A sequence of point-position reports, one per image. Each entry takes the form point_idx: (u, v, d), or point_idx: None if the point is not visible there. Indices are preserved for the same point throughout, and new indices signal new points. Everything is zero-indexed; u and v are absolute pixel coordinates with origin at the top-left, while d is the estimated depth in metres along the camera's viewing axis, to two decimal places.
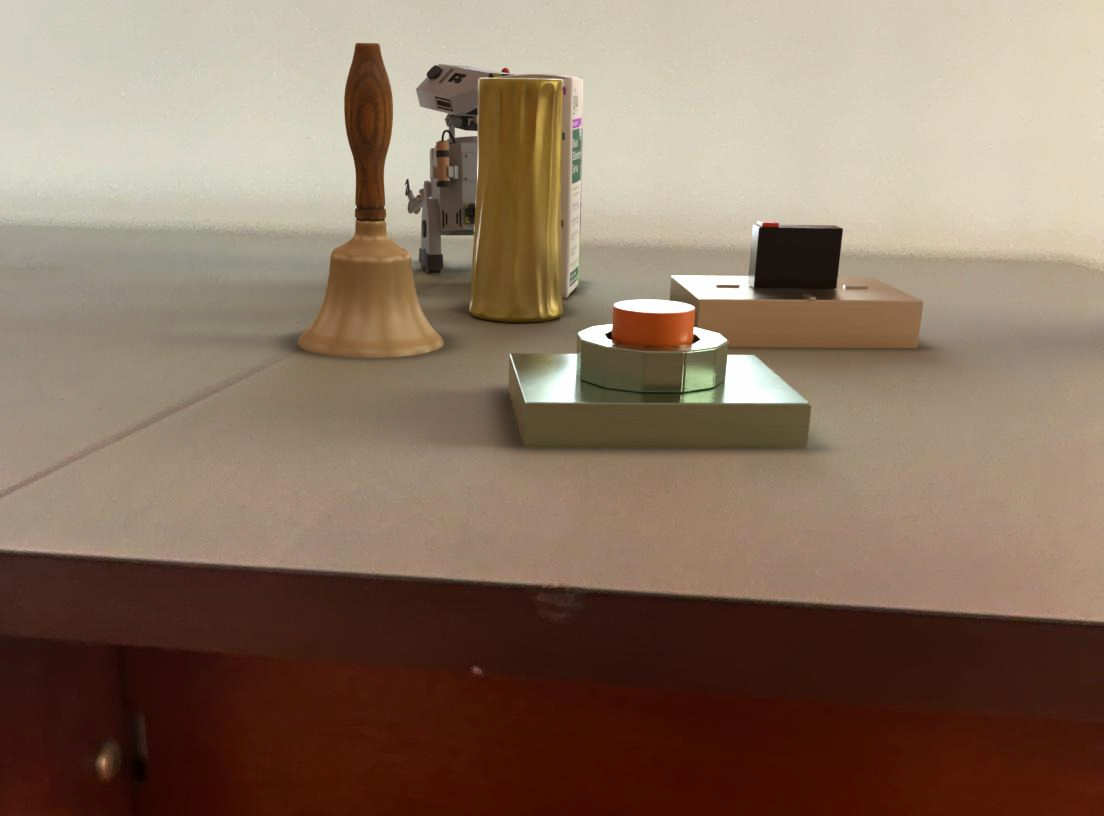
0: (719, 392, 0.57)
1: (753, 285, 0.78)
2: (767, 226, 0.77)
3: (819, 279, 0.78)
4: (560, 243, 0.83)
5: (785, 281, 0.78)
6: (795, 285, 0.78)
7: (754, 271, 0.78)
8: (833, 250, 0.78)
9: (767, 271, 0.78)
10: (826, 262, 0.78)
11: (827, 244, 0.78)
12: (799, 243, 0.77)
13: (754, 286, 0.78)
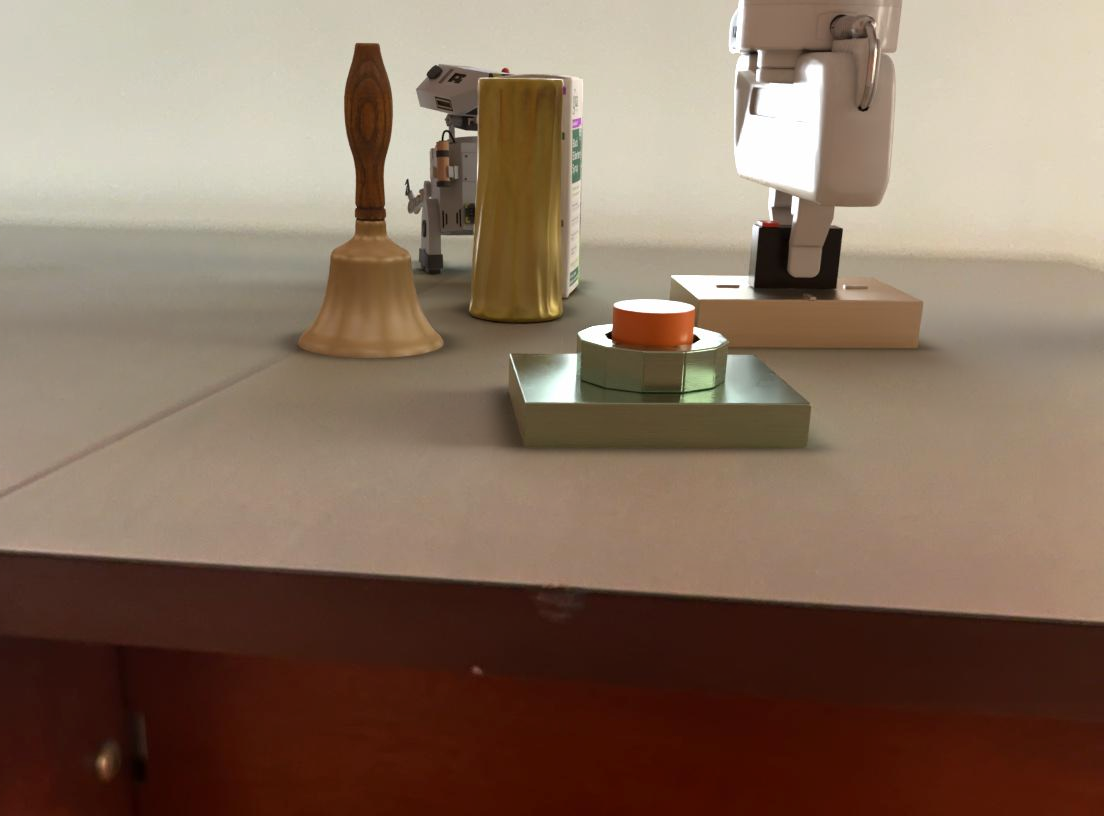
0: (719, 392, 0.57)
1: (753, 285, 0.78)
2: (767, 226, 0.77)
3: (819, 279, 0.78)
4: (560, 243, 0.83)
5: (785, 281, 0.78)
6: (795, 285, 0.78)
7: (754, 271, 0.78)
8: (833, 250, 0.78)
9: (767, 271, 0.78)
10: (826, 262, 0.78)
11: (827, 244, 0.78)
12: None
13: (754, 286, 0.78)
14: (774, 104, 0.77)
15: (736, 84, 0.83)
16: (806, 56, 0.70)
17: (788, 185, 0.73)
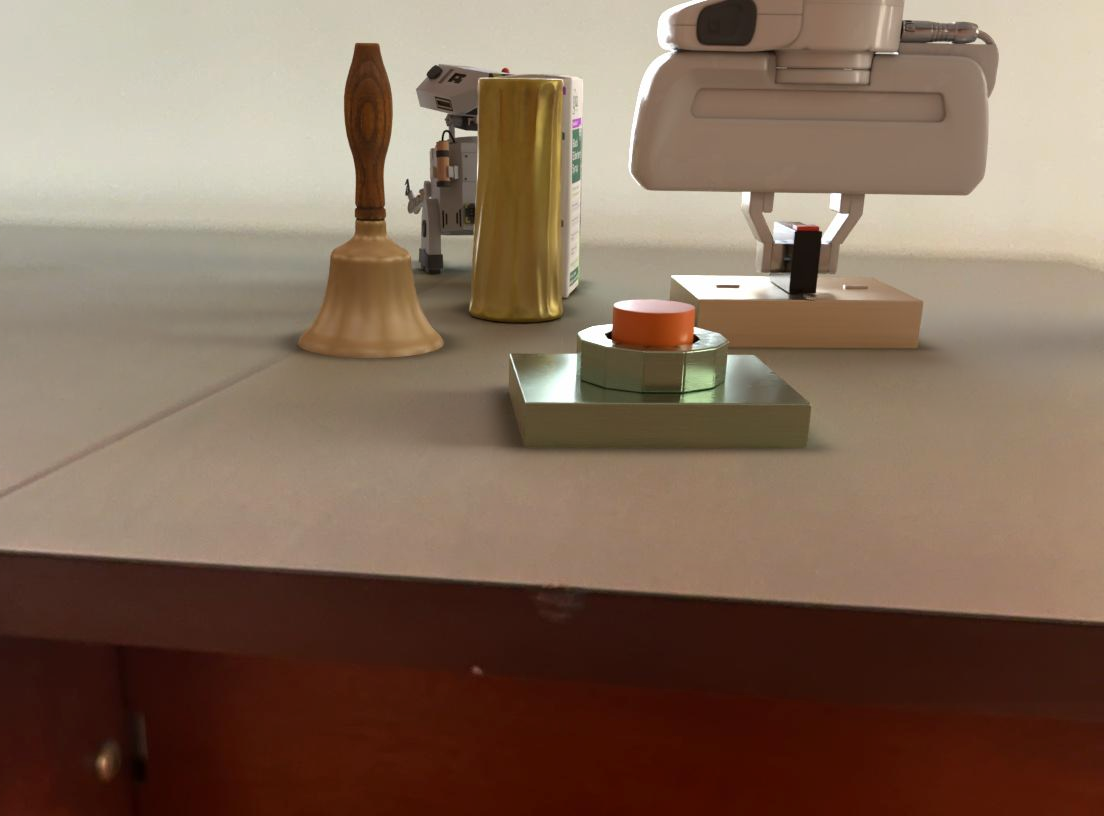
0: (719, 392, 0.57)
1: (813, 291, 0.77)
2: (818, 229, 0.76)
3: None
4: (560, 243, 0.83)
5: None
6: None
7: (814, 276, 0.77)
8: None
9: None
10: None
11: None
12: None
13: (815, 291, 0.77)
14: (780, 105, 0.73)
15: (671, 85, 0.72)
16: (902, 58, 0.73)
17: (873, 184, 0.75)
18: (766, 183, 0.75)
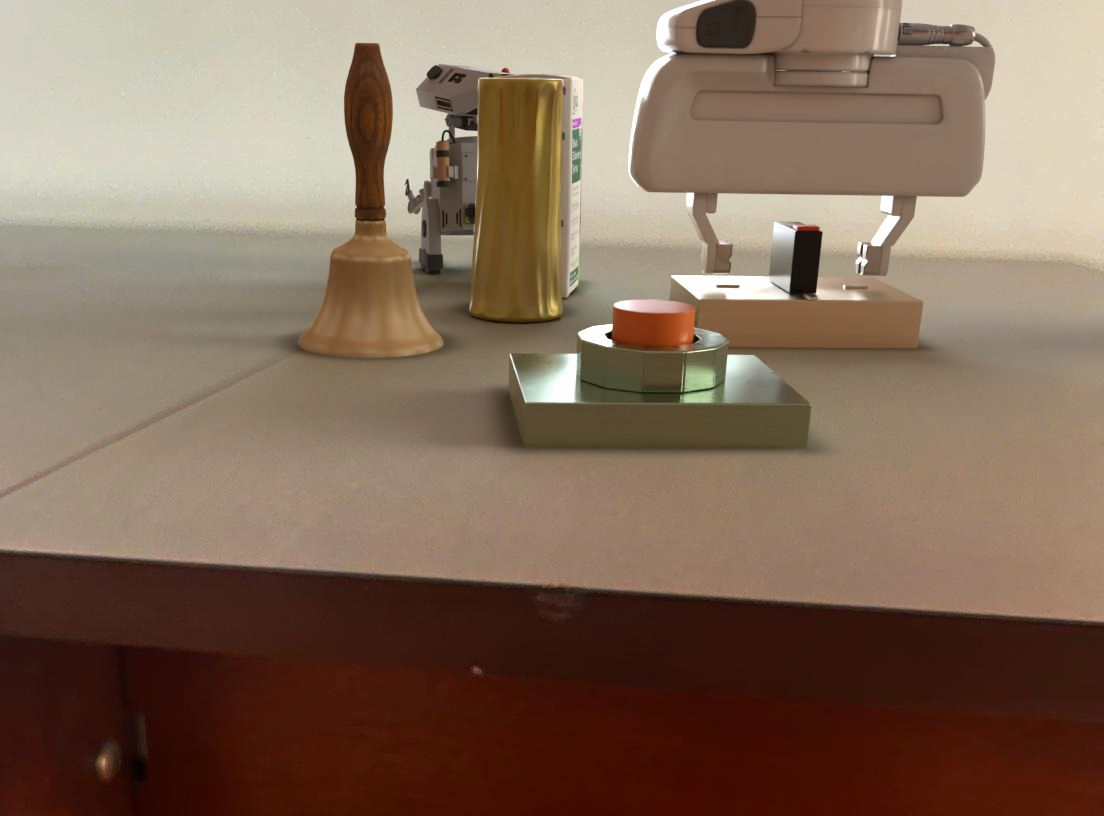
0: (719, 392, 0.57)
1: (813, 290, 0.77)
2: (819, 229, 0.76)
3: None
4: (560, 243, 0.83)
5: None
6: None
7: (814, 276, 0.77)
8: None
9: None
10: None
11: None
12: None
13: (815, 291, 0.77)
14: (778, 108, 0.74)
15: (671, 87, 0.72)
16: (900, 60, 0.73)
17: (871, 186, 0.75)
18: (765, 185, 0.75)
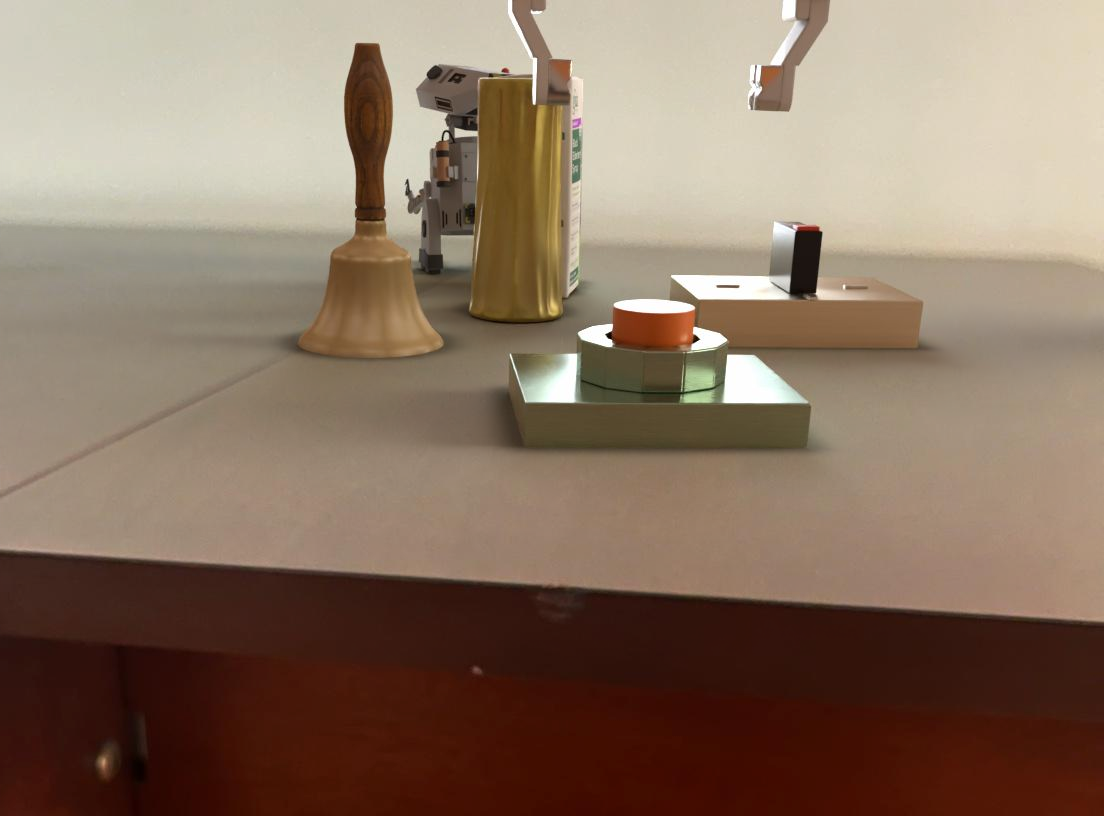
0: (719, 392, 0.57)
1: (813, 290, 0.77)
2: (819, 229, 0.76)
3: None
4: (560, 243, 0.83)
5: None
6: None
7: (814, 276, 0.77)
8: None
9: None
10: None
11: None
12: None
13: (815, 291, 0.77)
14: None
15: None
16: None
17: None
18: None
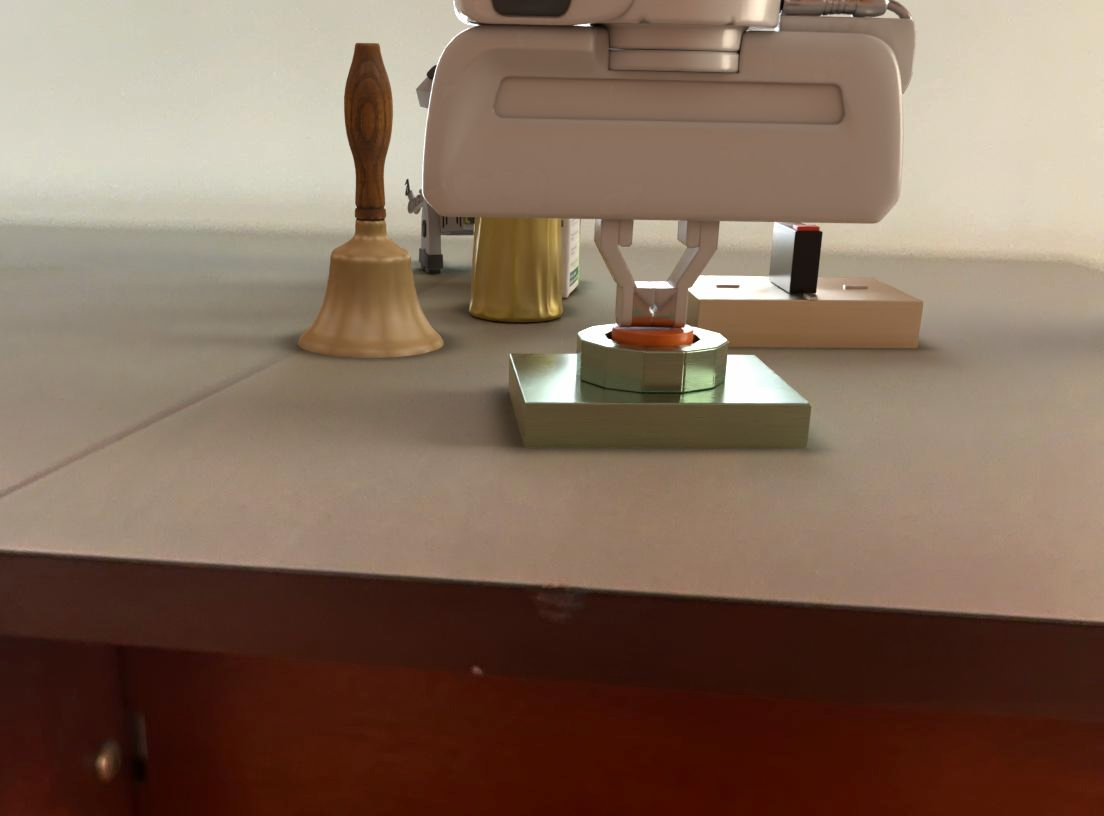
0: (719, 392, 0.57)
1: (813, 290, 0.77)
2: (819, 229, 0.76)
3: None
4: (560, 243, 0.83)
5: None
6: None
7: (814, 276, 0.77)
8: None
9: None
10: None
11: None
12: None
13: (815, 291, 0.77)
14: (617, 101, 0.53)
15: (463, 71, 0.52)
16: (783, 36, 0.53)
17: (748, 208, 0.55)
18: (602, 207, 0.55)
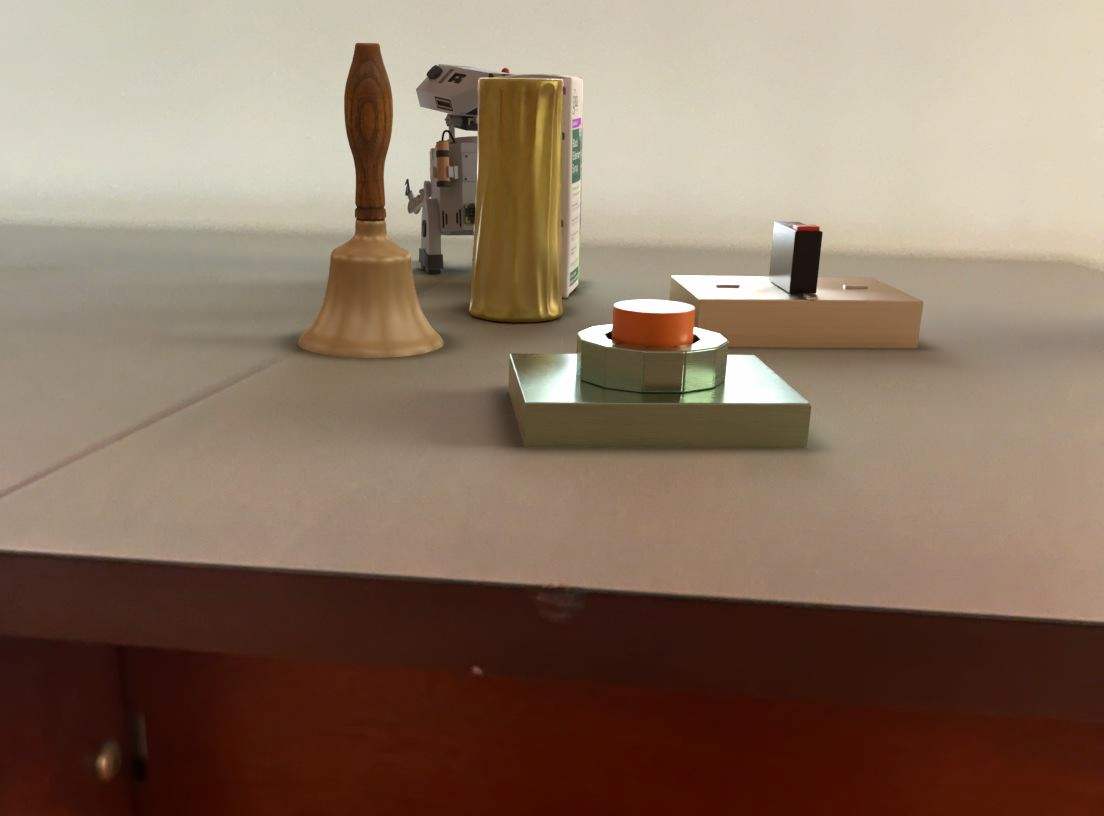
0: (719, 392, 0.57)
1: (813, 290, 0.77)
2: (819, 229, 0.76)
3: None
4: (560, 243, 0.83)
5: None
6: None
7: (814, 276, 0.77)
8: None
9: None
10: None
11: None
12: None
13: (815, 291, 0.77)
14: None
15: None
16: None
17: None
18: None
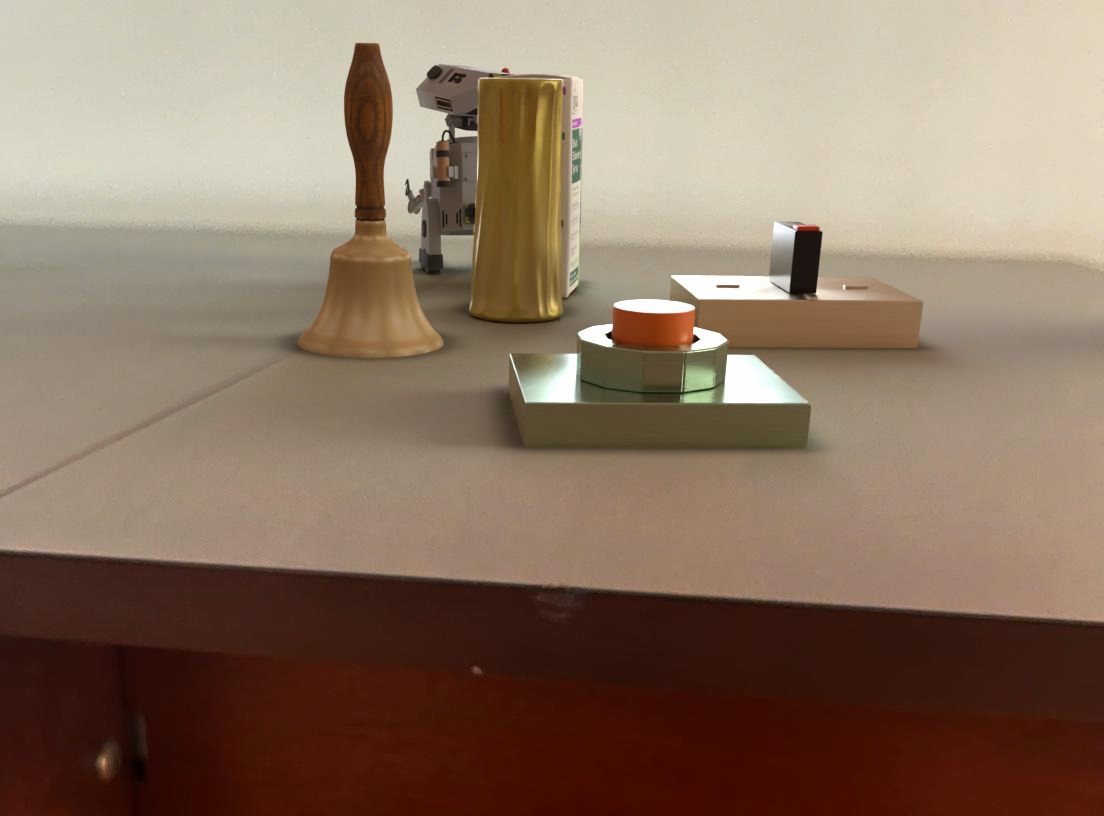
0: (719, 392, 0.57)
1: (813, 290, 0.77)
2: (819, 229, 0.76)
3: None
4: (560, 243, 0.83)
5: None
6: None
7: (814, 276, 0.77)
8: None
9: None
10: None
11: None
12: None
13: (815, 291, 0.77)
14: None
15: None
16: None
17: None
18: None
